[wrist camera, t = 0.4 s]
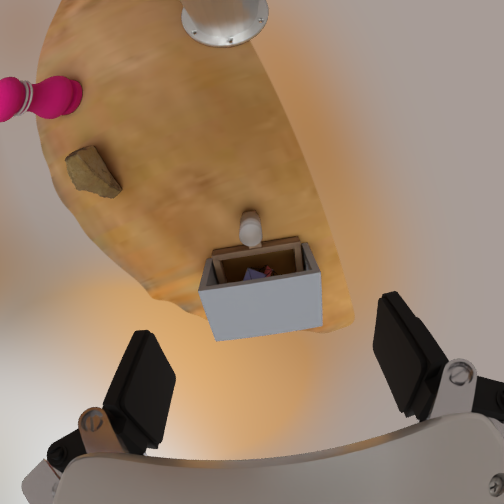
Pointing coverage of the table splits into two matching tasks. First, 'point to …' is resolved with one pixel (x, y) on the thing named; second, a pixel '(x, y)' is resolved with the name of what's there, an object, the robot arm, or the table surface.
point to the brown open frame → (254, 245)
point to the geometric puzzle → (257, 273)
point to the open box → (263, 302)
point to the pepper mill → (39, 97)
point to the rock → (91, 173)
